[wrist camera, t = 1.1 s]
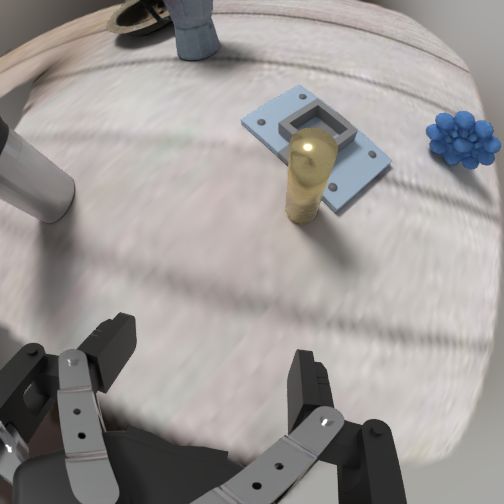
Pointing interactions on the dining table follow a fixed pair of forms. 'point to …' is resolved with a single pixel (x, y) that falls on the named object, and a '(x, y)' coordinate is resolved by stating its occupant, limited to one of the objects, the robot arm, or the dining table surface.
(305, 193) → the pin
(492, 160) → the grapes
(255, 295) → the dining table surface
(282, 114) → the square socket mounting plate
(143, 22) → the stone bowl
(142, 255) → the dining table surface
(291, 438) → the robot arm
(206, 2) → the moka pot
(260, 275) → the dining table surface
